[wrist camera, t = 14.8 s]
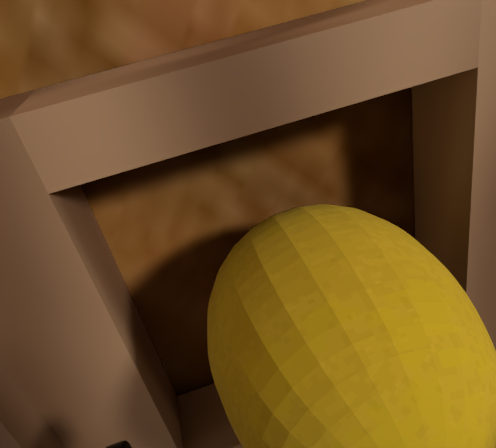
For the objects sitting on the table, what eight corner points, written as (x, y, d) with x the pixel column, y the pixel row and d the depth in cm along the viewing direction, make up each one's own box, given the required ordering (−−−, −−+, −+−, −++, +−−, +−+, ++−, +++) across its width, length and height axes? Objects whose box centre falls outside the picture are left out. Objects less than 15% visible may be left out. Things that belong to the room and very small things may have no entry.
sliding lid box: (537, -46, 11) (708, -63, 8) (486, 433, 21) (551, 512, 18) (-130, 134, 9) (-268, 207, 6) (163, 561, 19) (170, 673, 16)
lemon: (268, 344, 15) (389, 652, 8) (145, 254, 12) (170, 607, 5) (396, 238, 14) (655, 481, 7) (296, 115, 11) (562, 316, 4)
